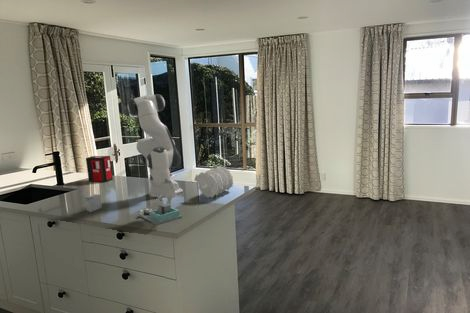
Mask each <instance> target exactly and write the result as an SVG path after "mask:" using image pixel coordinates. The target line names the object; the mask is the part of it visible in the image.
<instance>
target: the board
mask: <svg viewBox="0 0 470 313" xmlns="http://www.w3.org/2000/svg"><path fill="white" fill-rule="evenodd" d="M154 210H155V209H154ZM154 210H153V209H152V208H150V209H149V208H143V209H140V210H139V214H138V216H139V217H140V218H142V219H144V220H145V221H146V220H147V221H148V222H150V223H152V224H154V225H156V226H159V225H161V224H165V223H168V222H173V221H174V220H178V219H181V218H183V217H182V215H181V214H180V216H177V217H174V218H170V219H167V220H163V221H158V220H156V219H154V218H152V217H150V215H144V211H145V212H147V213H148V212H149V213H150V211H154Z"/></svg>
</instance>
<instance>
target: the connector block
mask: <svg viewBox="0 0 470 313" xmlns="http://www.w3.org/2000/svg"><path fill="white" fill-rule="evenodd" d="M171 205H172V204H170V205H168V204H167V203H164V204H161V205H157V209H156V210H158V214H159V215H163V214H166V213H170V212H171V207H172V206H171Z"/></svg>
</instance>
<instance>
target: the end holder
mask: <svg viewBox="0 0 470 313" xmlns="http://www.w3.org/2000/svg"><path fill="white" fill-rule="evenodd" d="M149 211H150V210H149ZM180 215H181V213H180V209H177V208H175V207H172V206H171V212H170V213H166V214H163V215H159V214H158V210H157V209H154V211H153V210H152V211H150V217H152V218H154V219H156V220H158V221H163V220H167V219H170V218H174V217H177V216H180Z"/></svg>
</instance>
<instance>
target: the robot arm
mask: <svg viewBox="0 0 470 313" xmlns="http://www.w3.org/2000/svg"><path fill="white" fill-rule="evenodd" d="M165 107H166V100H165V99H164V97H163V95H161V94H160V93H159V94H157V93H155V94H147V95H142V96H139V97H134V98H130V99H129V100H128V101H127V110H128V113H130V115H132V116H135V117H138V121H139V122H138V123H139V126H140V128H141V130H142V131H143V132H144V133H145V135H148V136H150V137H144V138H140V139H138V141H137V142H136V150H137V152H138V153H139V154H140V155H142V156H143V157H144V158H145V159H146V164H147V166H146V167H148V168H149V169H148V170H149V182H150V191H149V192H150V193H149V197H152V198H157V200H158V201H159V202H161V201H163V198H166V199H167V200H166V204H168V205H172V199H173V198H175V197H176V195H177V194H180V193H182V192H183V189H182V188H181V187H180V185H179V183H178V182H177V181H175V180H174V179H172V177H173V174H172V173H171V171H170V169H171V168H172V169H174V168H176V169H177V167H178V166H179V165H180V164H181V161H182V159H181V155H180V152H179V151H178V149H177V147H176V143H175V140H174V139H173V137H172V135H171V132H170V130H169V128H168V127H167V125H166V124H164V123H163V122H161V120H160V118H159V114H158V112H162V111H164V109H165Z"/></svg>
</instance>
